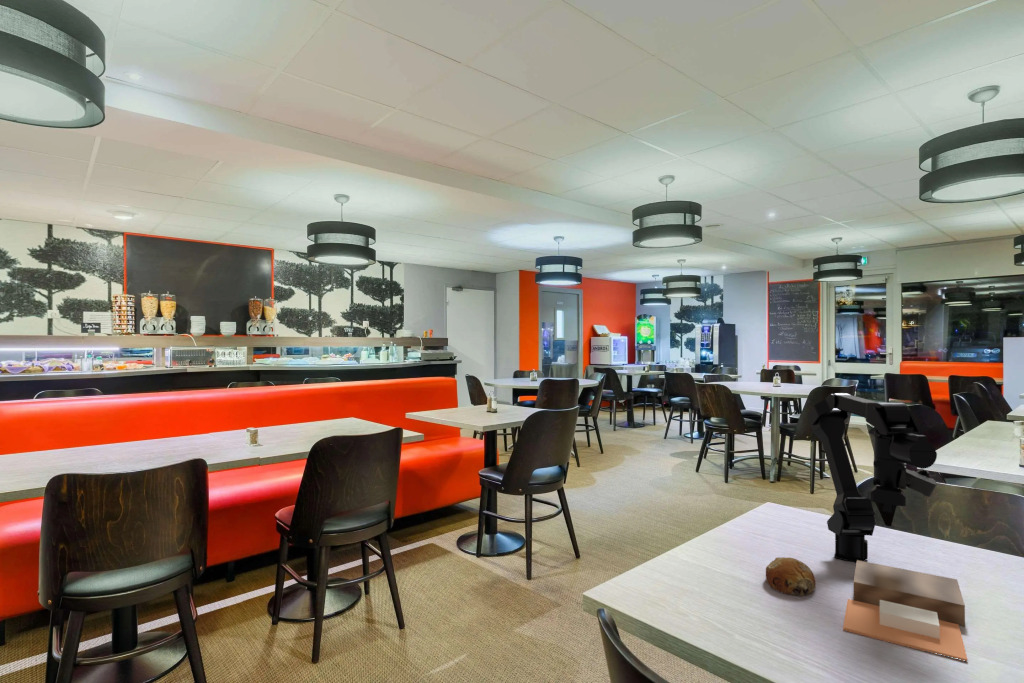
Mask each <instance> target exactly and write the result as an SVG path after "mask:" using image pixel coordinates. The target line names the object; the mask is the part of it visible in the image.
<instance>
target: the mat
mask: <svg viewBox="0 0 1024 683" xmlns="http://www.w3.org/2000/svg"><path fill="white" fill-rule="evenodd" d="M845 607H846V608H845V615H844V620H843V627H842V630H843V631H844V632H845V631H846V632H848V633H849V632H850V633H853V634H856V635H862V636H864V637H869V638H872V639H876V640H879V641H884V642H888V643H892V644H895V645H899V646H903V647H906V646H907V648H910V647H911V648H910V649H914V650H918V649H919V650H918V651H922V652H925V651H928V652H927V653H929V652H932V653H931V654H933V653H937V654H942V655H945V656H949V657H953V658H958V659H961V660H965V661H968V662H969V660H968V656H967V653H966V649H965V644H964V640H963V636H962V632H961V628H960V625H959V624H954V623H950V622H946V621H941V620H939V625H940V639H937V638H933V637H929V636H925V635H921V634H917V633H912V632H908V631H904V630H900V629H896V628H892V627H888V626H884V625H880V606H877V605H872V604H868V603H864V602H859V601H855V600H854V599H850V598H847V601H846V606H845ZM937 654H936V655H937ZM945 656H944V657H945Z"/></svg>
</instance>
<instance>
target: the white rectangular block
mask: <svg viewBox="0 0 1024 683" xmlns="http://www.w3.org/2000/svg"><path fill="white" fill-rule="evenodd" d="M880 625H884V626H888V627H892V628H896V629H900V630H904V631H908V632H912V633H917V634H921V635H925V636H929V637H933V638H937V639H940V625H939V620H938V615H937V612H933V611H928V610H924V609H919V608H915V607H910V606H906V605H901V604H897V603H892V602H888V601H884V600H880Z"/></svg>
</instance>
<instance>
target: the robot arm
mask: <svg viewBox="0 0 1024 683" xmlns="http://www.w3.org/2000/svg"><path fill="white" fill-rule="evenodd" d="M851 414H853V415H856V416H858V417H861V418H864V419H865V422H866V423H868V424H870V425H871V426H872V427H873V428H871V429H870V430H868V434H869V435H871V436H872V435H873V462H872V463H873V480H872V485H873V486H874V487H872V488H871V490H870V498H869V497H864V496H863V495H862V494H861V493H860V492H859V489H858V486H857V481H856V479H855V476H854V472H853V469H852V465H851V462H850V460H849V456H848V453H847V449H846V446H845V443H844V439H843V436H844V434H845V431H846V429H847V426H846V422H847V421H848V419H849V418H850V416H851ZM806 418H807V423H808V424H809V426H810V430H811V432H812V434H814V435H815V436H816V438H817V439H819V441H821V443H822V447H823V450H824V454H825V457H826V458H825V459H826V461H827V465H828V468H829V471H830V475H831V478H832V481H833V486H834V490H835V493H836V497H835V500H834V502H833V506H832V508H833V514H831V516H830V517H829V519H827V521H826V524H827V530H828V531H830V532H832V533H833V534H834V539H835V540H834V541H835V544H834V546H835V547H834V548H835V550H834V551H835V552H834V555H833V556H834V558H835V559H838V560H844V561H848V562H854V563H856V562H857V560H859V561H864V562H866V561H867V560H868V557H869V555H868V553H869V552H868V551H869V549H868V548H869V546H868V545H869V542H868V540H867V539H866V536H868V537H869V536H870V537H871V536H873V533H874V530H875V527H876V525H877V524H876V523H877V518H876V511H875V510H874V507H873V503H875V505H876V507H877V510H878V512H879V515H880V516H881V518H882V521H883V523H884V525H885V526H886V527H892V525H893V521H894V517H895V513H896V510H897V507H899V506H900V507H906V503H907V502H906V501H907V500H906V498H907V497H906V493H905V491H904V490H907V488H909V489H911V490H914V491H916V492H918V493H920V494H922V495H923V496H925V497H927V498H931V496H932V495H933V493H934V491H935V489H936V487H937V481H936V480H935V479H934V478H932V477H931V478H930V472H929V471H928V470H926V469H928V468H930V467H931V466H933V465H934V464H935V463H936V460H937V456H938V452H937V451H936V448H935V447H934V445H932V443H930V442H929V441H928V436H927V435H923V434H922V432H921V428H920V426H919V424H918V423H917V422H916V420H915V417H914V416H913V414H912V412H911V410H910V409H909V406H908V405H907V404H905V403H904V402H879V401H878V402H877V401H874V400H870V399H866V398H864V397H863V398H862V397H860V396H855V395H852V394H850V393H847V392H846V393H845V392H836V393H835V392H832V393H829V394H827V395H826V397H825V399H823V400H821V401H819V402H817V403H816V404H814V405H812V407H811V409H810V410H809V412H808V414H807V417H806ZM907 465H909V466H912V467H915V468H918V470H916V471H915V470H911V469H908V468H907ZM872 502H873V503H872Z"/></svg>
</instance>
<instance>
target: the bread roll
mask: <svg viewBox="0 0 1024 683" xmlns="http://www.w3.org/2000/svg"><path fill="white" fill-rule="evenodd" d="M765 579H766V583H767V584H768V585H770V586H769V587H770V588H771V589H773V590H774V589H775V590H774V591H776V590H777V592H778V591H779V593H781V592H782V593H781V594H784V593H785V594H784V595H789V594H790V596H791V595H792V596H799V597H801V596H802V597H803V596H807V595H810V594H812V593H813V591H814V590H816V578H815V575H814V572H813V571H812V569H811V568H810V567H809V566H808V565H807V564H806V563H804V562H803V561H801V560H798V559H797V558H793V557H785V556H784V557H782V556H781V557H775V559H774V560H772V561H771V562H770V563H769V564H768V565H767V566H766V567H765Z"/></svg>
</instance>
